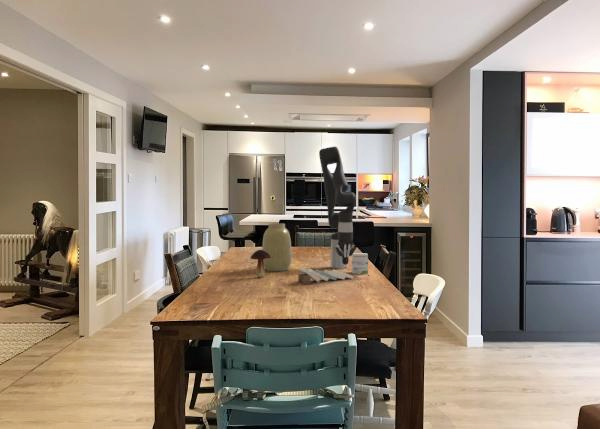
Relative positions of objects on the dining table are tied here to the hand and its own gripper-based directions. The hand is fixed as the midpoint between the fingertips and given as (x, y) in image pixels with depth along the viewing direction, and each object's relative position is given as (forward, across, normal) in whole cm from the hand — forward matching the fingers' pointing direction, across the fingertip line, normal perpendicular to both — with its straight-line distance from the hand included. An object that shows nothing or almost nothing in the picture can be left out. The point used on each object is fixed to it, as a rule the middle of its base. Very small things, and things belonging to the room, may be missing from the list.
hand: (345, 264), depth 230 cm
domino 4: (+7, -2, 0) cm, 7 cm away
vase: (+9, -20, +45) cm, 50 cm away
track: (+8, -10, 0) cm, 13 cm away
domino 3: (+7, -7, 0) cm, 9 cm away
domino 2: (+7, -12, 0) cm, 13 cm away
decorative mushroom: (+9, -37, +26) cm, 46 cm away
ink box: (+9, +16, +11) cm, 21 cm away
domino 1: (+7, -16, 0) cm, 18 cm away
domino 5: (+7, +3, 0) cm, 7 cm away
